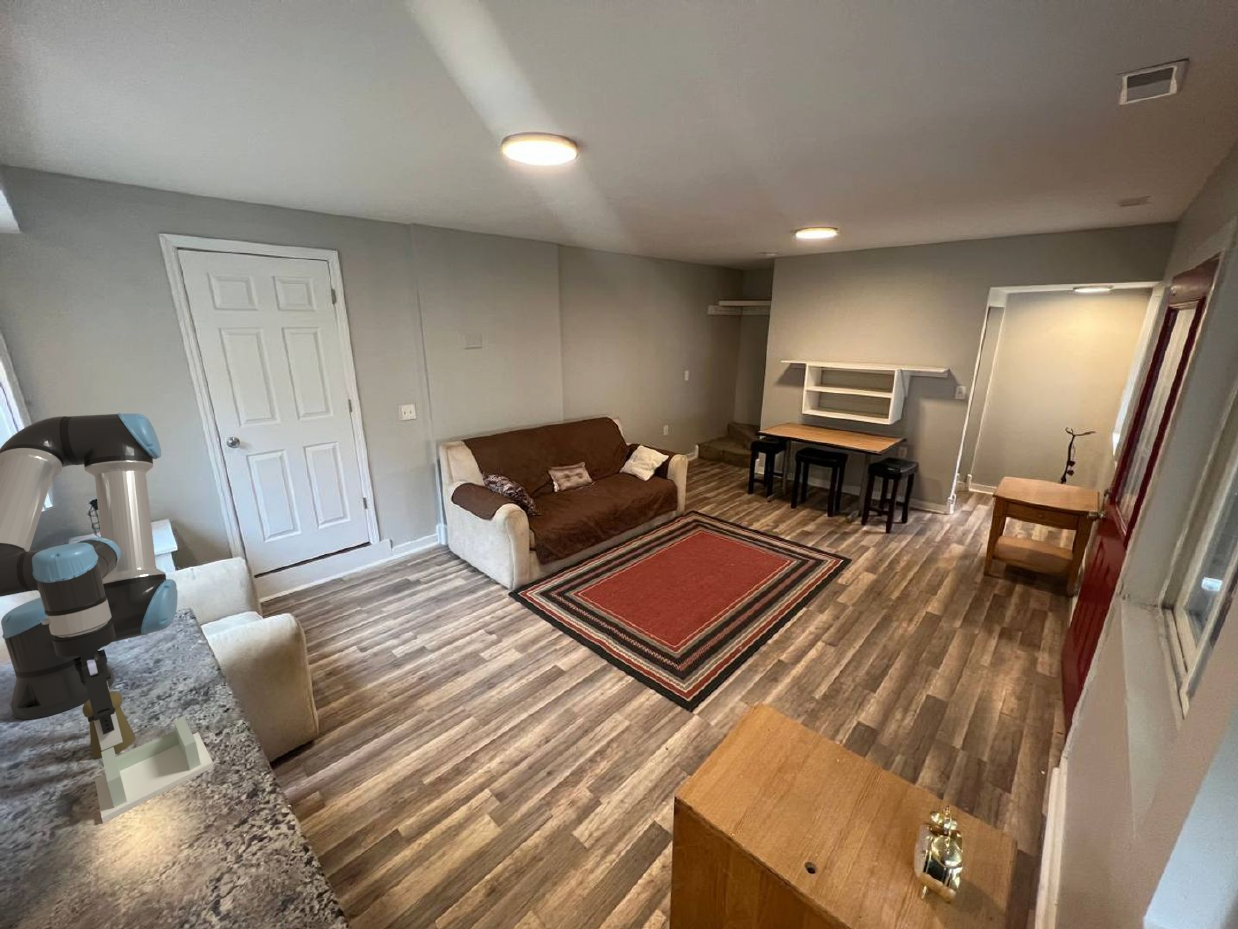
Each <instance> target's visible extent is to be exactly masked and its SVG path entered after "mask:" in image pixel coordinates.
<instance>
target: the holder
mask: <svg viewBox="0 0 1238 929" xmlns="http://www.w3.org/2000/svg"><path fill="white" fill-rule="evenodd" d="M173 724H174V727H175V728H174V729H175V730H173V731H171V732H168V733H166V734H165V735H162V736H160V737H157V738H155V739H153V740H151V741H148V742H146V743H143V744H142V745H140V746H136V747H135V748H133V749H130V750H128V751H126V752H124V753H121V754H119V755H117V756H116V754H115V751H114V747H112V748H110V749H107V750H105V751H103V752H101V754H102V758H101V759H102V762H103V767H104V768H103V769H104V772H105V774H103V775H100V776H98V777H96V778H94V781H95V782H94V783H95V787H96V793H97V800H98V806H99V811H100V816H101V821H102V823H103V824H105V823H106V822H108V821H110V820H113V819H114V818H116V817H118V816H120V815H122V814H124V813H126V812H127V811H128V812H129V811H130V810H132V809H134V808H136V807H138V806H140V805H141V804H143V803H146V802H147V801H149V800H152V799H154V798H155V797H157V796H160V795H161V794H164V793H165V792H167V791H170V790H171V789H173V788H175V787H177V786H179V785H181V784H183V783H185V782H187V781H189V780H191V779H192V778H195V777H196V776H199V775H201V774H203V773H205V772H206V771H209V770H211V769H213V768H215V767H214V765H215V764H214V762H213V760H212V758H211V755H210V754H209V752H208V750H207V748H206V745H205V743H204V741H203V739H202V737H201V735H200V733H199V732H198V731H197V732H195V733H192V730H191V729H190V726H189V724H188V722H187V720H186V717H185V716H182V717H180V718H177V719H175V720H173Z"/></svg>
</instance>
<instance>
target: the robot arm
mask: <svg viewBox="0 0 1238 929" xmlns="http://www.w3.org/2000/svg"><path fill="white" fill-rule="evenodd" d="M161 456H162V449H161V445H160V441H159V439H158V436H157V433H156V430H155V429H154V426H153V425H152V423H151V421H150V420H149V418H147V416H146V415H144V414H141V413H121V412H117V413H112V414H111V413H108V414H90V415H89V414H88V415H73V416H72V415H71V416H70V415H69V416H65V415H64V416H53V417H49V418H45V419H41V420H39V421H36V422H33V423H31V424H29V425H27V426H25V427H24V428H22V429H21V430H19V431H18V432H16V433H15V434H13V435H12V436H11V437H10V438H9V439H7V441H5V442H4V443H3V445H1V447H0V597H7V596H12V595H18V594H22V593H28V592H33V591H38V593H39V596H40V597H37V598H35V599H31V600H29V601H26V602H25V603H22V604H20V605H17V606H16V607H14V608H13V609H11V610H9V611H7V613H5V614H4V615H3V617H2V619H1V620H0V624H1V625H0V626H1V631H2V639H3V640H4V643H5V645H6V649H7V653H8V655H9V659H10V661H11V664H12V667H13V668H12V669H13V671H14V675H15V678H16V679H15V680H16V681H15V685H14V690H13V693H12V699H11V702H10V708H11V711H12V715H13V717H14V718H16V719H18V720H19V719H20V720H34V719H40V718H43V717H44V718H45V717H49V716H53V715H56V714H60V713H62V712H65V711H68V710H71V709H73V708H76V707H78V706H81V705H84V704H85V702H86V701H88V700H89V699H90V703H91V707H92V711H93V716H92V717H89V718H87V722H88V723H90V722H91V721H93V720H94V723H95V727H96V731H97V735H98V739H99V743H100V746H101V750H102V751H103V750H105V749H107V748H110V747H112V746H114V745H117V744H119V743H121V742H123V740H122V736H121V732H120V728H119V724H118V720H117V716H116V712H115V708H114V707H113V704H112V700H111V697H110V693H109V691H110V687H111V686H112V685H113V684H114V682H115V680H116V679H115V674H114V672H113V669H112V668H111V667H110V666H109V664H108V657H107V655H106V654H107V653H106V651H105V649H102V648H104V647H107V646H108V645H110V644H111V643H115V642H119V641H124V640H127V639H132V638H137V637H141V636H147V635H149V634H151V633H152V634H153V633H155V632H160V631H163V630H165V629H168V628H169V627H170V626H171V625H172V623H173V621H174V619H175V616H176V614H177V607H178V589H177V583H176V581H175V580H174V579H170V578H167V574H166V572H164V571H162V570H160V569H159V568H157V564H156V563H157V562H156V556H155V555H156V554H155V546H154V536H153V527H152V519H151V510H150V500H149V492H148V483H147V475H146V474H147V473H148V472H149V471H150V470H151V469H152V468H154V462H153V460H157V459H159V458H161ZM80 465H81V466H82V465H83V466H84V467H83V468H84V471H85V472H87V473H89V474H91V475H92V476H93V477H94V480H95V481H94V482H95V490H96V499H97V501H96V502H97V510H98V511H97V512H98V519H99V520H98V522H99V532H100V533H99V534H100V537H90V538H85V539H83V540H80V541H77V542H73V543H67V544H61V545H55V546H52V547H48V548H44V549H37V550H36V549H35V550H31V547H32V543H33V539H34V537H35V534H36V530H37V528H38V526H39V525H38V524H39V521H40V518H41V514H42V511H43V508H44V506H45V503H46V498H47V496H48V493H49V489H50V486H51V483H52V480H53V478H55V477H57V476H58V475H60V474H61V472H62V471H63V468H65V467H69V466H80Z"/></svg>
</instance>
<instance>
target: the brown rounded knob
mask: <svg viewBox="0 0 1238 929" xmlns="http://www.w3.org/2000/svg"><path fill="white" fill-rule="evenodd" d="M109 693H110V697H111V700H112V704H113V707H114V708H115V712H116V716H117V720H118V724H119V728H120V732H121V736H122V740H123V742H121V743H119V744H117V745H114V746H112V747H114V751H115V755H116V754H118V753H121V752H122V751H124V750H126V749H128V748H129V747H130V746H131V745H132V744H133V743H134V742H135V741H136V735H135V733H134V731H133V729H132V726H131V725H130V723H129V720H128V719H127V717H126V715H125V713H124V712H123V710H122V707H121V706H122V704H123V702H124V700H123V696H122V694H121V693H120V692H119V691H116V690H109ZM82 713H83V716H84V717H85V718H87V719H88V718H89V717H92V716H93V711H92V707H91V703H90V699H89V700H88V701H86V702H85V703H83V706H82ZM89 738H90V739H89V741H90V756H91V758H93V759H97V760H98V759H102V754H101V752H103V751H105V750H107V749H110V748H112V747H110V748H107V749H105V750H103V751H102V750H101V746H100V743H99V739H98V735H97V731H96V727H95V723H94V720H93V721H91V722H89Z"/></svg>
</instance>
